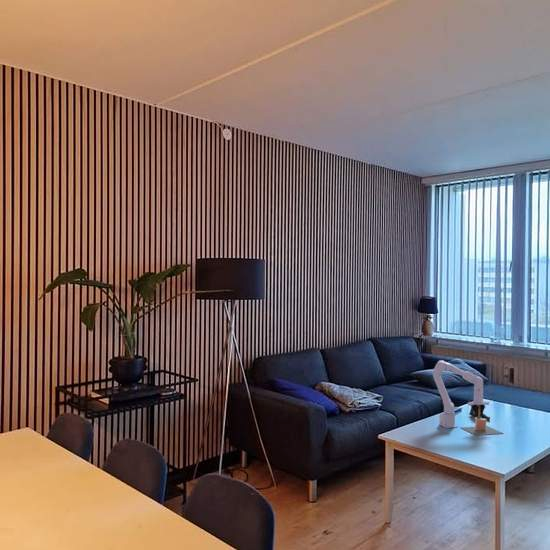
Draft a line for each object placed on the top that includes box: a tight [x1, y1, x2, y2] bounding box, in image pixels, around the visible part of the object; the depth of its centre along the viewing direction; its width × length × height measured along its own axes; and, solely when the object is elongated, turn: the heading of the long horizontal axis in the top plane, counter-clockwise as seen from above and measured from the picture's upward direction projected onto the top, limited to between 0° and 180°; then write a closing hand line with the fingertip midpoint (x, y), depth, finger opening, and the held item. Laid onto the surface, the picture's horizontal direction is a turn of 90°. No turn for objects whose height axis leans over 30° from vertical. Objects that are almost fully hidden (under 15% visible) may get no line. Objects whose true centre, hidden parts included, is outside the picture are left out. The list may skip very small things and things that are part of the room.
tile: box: [474, 419, 487, 430], centre depth 320 cm, size 7×2×7 cm, turn 103°
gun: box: [468, 398, 491, 422], centre depth 347 cm, size 3×17×15 cm
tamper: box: [473, 405, 482, 421], centre depth 323 cm, size 4×4×10 cm
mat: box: [460, 425, 504, 437], centre depth 319 cm, size 20×16×1 cm
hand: (478, 415), depth 323 cm, fingers closed on tamper, 2 cm apart
